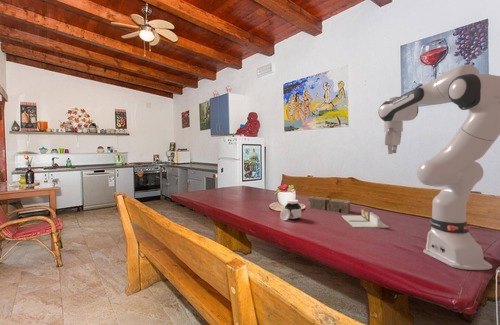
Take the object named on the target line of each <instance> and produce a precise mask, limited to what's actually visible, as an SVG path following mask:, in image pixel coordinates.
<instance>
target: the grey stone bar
mask: <svg viewBox="0 0 500 325" xmlns="http://www.w3.org/2000/svg"><path fill="white" fill-rule="evenodd" d="M308 202H309V209H312V210H313V209H314V210H320V211H321V210H322V211H327V212H328V211H329V212H334V213H340V212H341V214H346V215H347V214H349V213H351V201H350V200H345V199H338V198H330V197H319V196H315V195H312V196H310V197H308Z"/></svg>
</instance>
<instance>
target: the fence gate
mask: <svg viewBox="0 0 500 325" xmlns="http://www.w3.org/2000/svg"><path fill="white" fill-rule="evenodd" d="M380 221H381V220H380V216H378V215H377V214H375V213H373V212H372V211H371V212H370V222H372V223H373V224H374V225H376V226H377V227H380Z"/></svg>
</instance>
